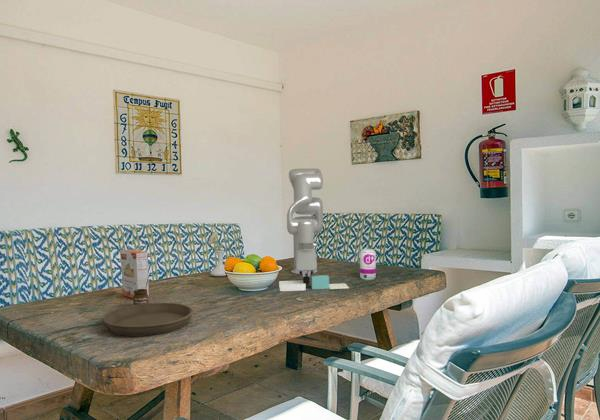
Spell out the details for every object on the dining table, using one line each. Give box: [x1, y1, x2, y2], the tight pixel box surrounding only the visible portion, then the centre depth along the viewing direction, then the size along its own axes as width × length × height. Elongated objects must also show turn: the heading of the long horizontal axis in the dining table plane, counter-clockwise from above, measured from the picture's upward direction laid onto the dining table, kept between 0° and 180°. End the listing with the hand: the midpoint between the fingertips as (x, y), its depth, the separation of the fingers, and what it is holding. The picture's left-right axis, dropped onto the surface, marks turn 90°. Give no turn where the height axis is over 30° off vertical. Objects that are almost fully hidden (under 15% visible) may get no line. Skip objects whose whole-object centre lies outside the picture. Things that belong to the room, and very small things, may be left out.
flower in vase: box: [208, 231, 227, 277], centre depth 265 cm, size 13×11×25 cm
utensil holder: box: [132, 276, 150, 305], centre depth 198 cm, size 6×6×12 cm
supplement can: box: [359, 248, 377, 281], centre depth 251 cm, size 8×8×15 cm
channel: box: [278, 279, 307, 292], centre depth 229 cm, size 9×12×3 cm
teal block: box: [310, 274, 330, 290], centre depth 230 cm, size 5×8×6 cm, turn 95°
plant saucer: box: [101, 302, 194, 337], centre depth 172 cm, size 31×31×5 cm
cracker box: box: [120, 249, 150, 299], centre depth 216 cm, size 14×6×21 cm, turn 47°
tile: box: [329, 282, 350, 290], centre depth 232 cm, size 9×9×1 cm
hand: (306, 284), depth 230 cm, fingers closed
